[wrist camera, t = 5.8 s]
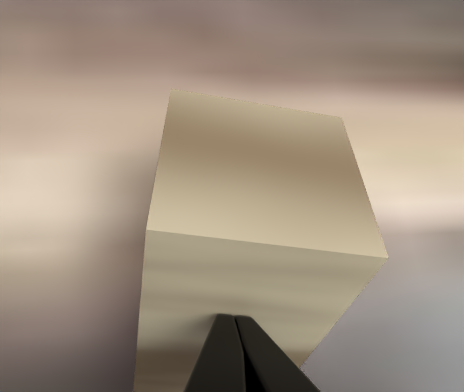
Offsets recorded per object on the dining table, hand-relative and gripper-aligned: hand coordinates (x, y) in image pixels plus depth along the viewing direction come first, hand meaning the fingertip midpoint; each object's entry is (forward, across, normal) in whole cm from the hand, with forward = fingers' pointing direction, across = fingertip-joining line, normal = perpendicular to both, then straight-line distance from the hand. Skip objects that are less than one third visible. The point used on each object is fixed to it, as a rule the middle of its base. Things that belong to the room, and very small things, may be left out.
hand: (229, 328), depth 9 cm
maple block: (+4, 0, -5) cm, 6 cm away
